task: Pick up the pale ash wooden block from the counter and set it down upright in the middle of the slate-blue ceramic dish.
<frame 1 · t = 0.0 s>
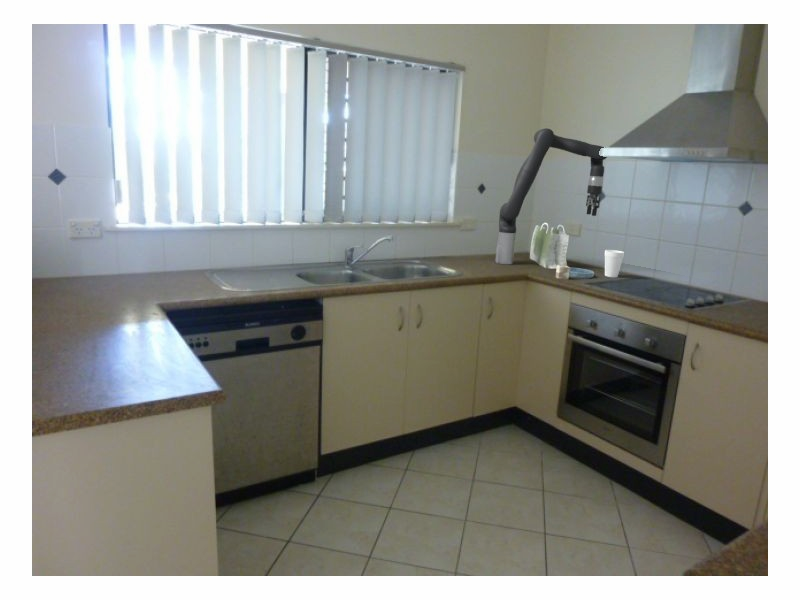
hand: (591, 215, 310), 29 cm above the worktop, fingers open, 8 cm apart
dish: (576, 275, 293), on the worktop
grocery bag: (548, 264, 324), on the worktop
ash block: (561, 278, 282), on the worktop
foam cup: (611, 276, 296), on the worktop
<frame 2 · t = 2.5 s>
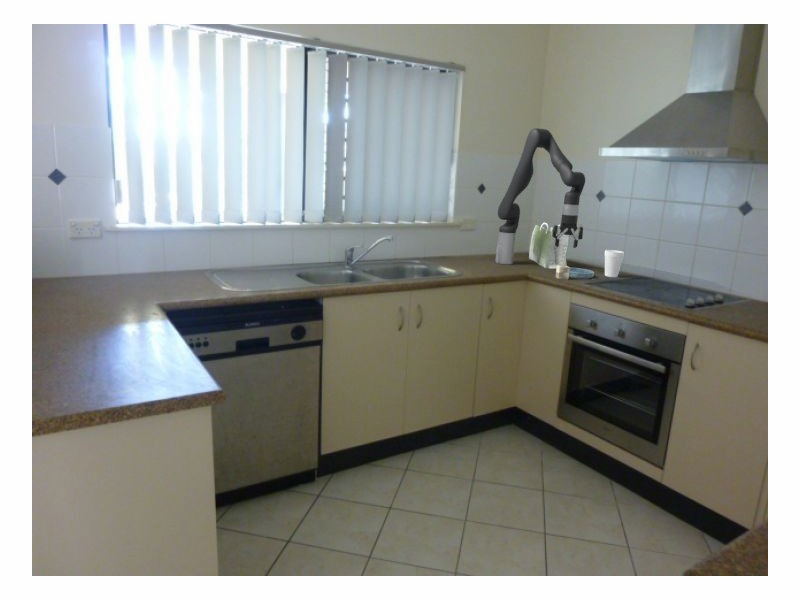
hand: (565, 247, 278), 15 cm above the worktop, fingers open, 8 cm apart
nothing on the worktop moved.
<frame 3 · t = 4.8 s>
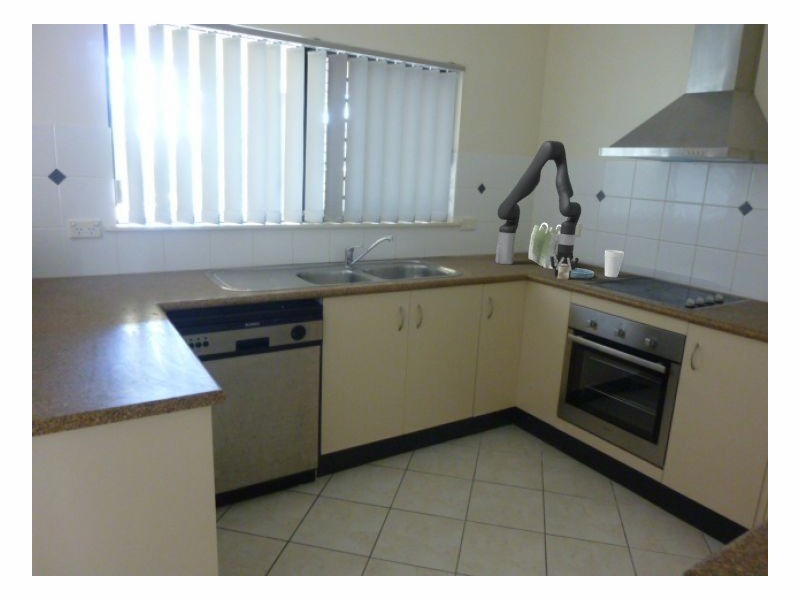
hand: (561, 277, 281), 0 cm above the worktop, fingers closed on ash block, 5 cm apart
ash block: (561, 278, 282), on the worktop, touching gripper
everything else where it was.
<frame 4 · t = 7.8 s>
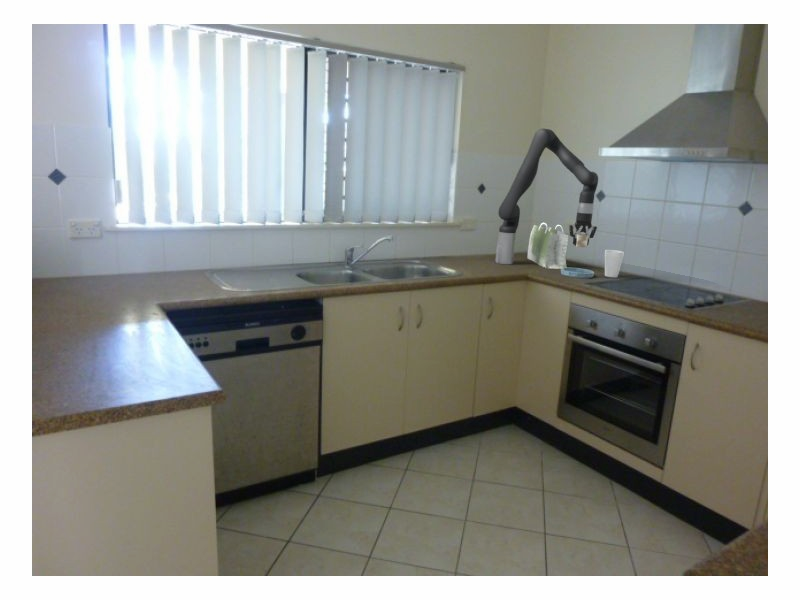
hand: (580, 245, 289), 15 cm above the worktop, fingers closed on ash block, 5 cm apart
ash block: (580, 246, 289), point 15 cm above the worktop, touching gripper
everything else where it was.
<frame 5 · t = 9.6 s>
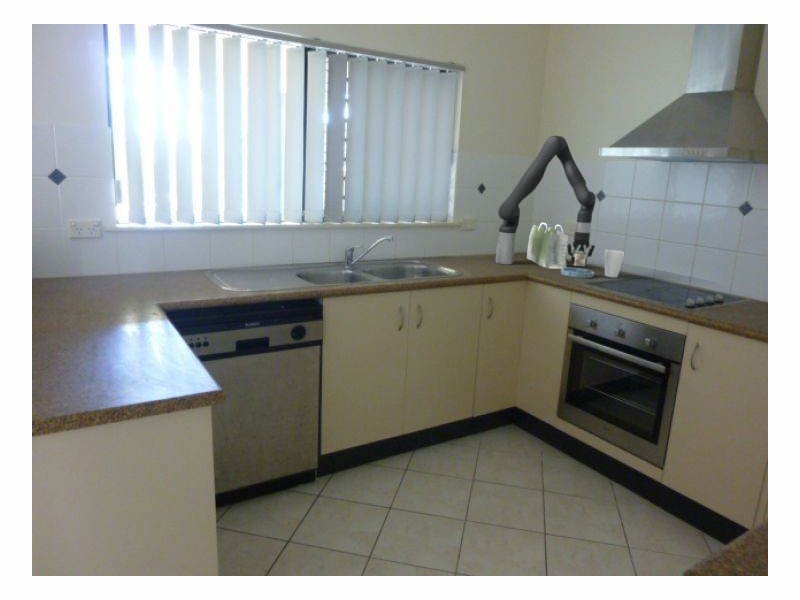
hand: (578, 264, 291), 6 cm above the worktop, fingers closed on ash block, 5 cm apart
ash block: (578, 265, 291), point 5 cm above the worktop, touching gripper
when the fingers open (3 cm above the worktop, at t = 11.1 s): ash block drops 1 cm, resting on dish.
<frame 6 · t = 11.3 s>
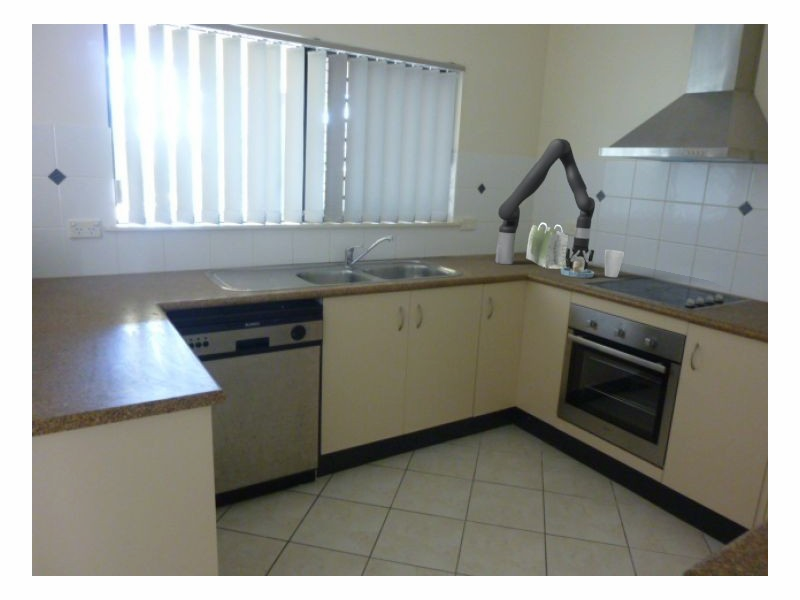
hand: (577, 268, 292), 3 cm above the worktop, fingers open, 6 cm apart
ash block: (576, 272, 292), point 1 cm above the worktop, touching dish
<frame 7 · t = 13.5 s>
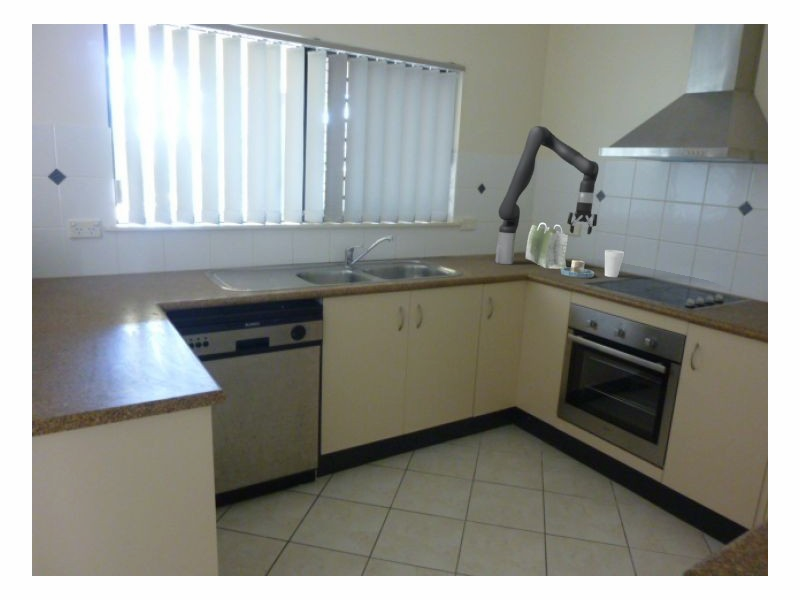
hand: (580, 233, 289), 21 cm above the worktop, fingers open, 8 cm apart
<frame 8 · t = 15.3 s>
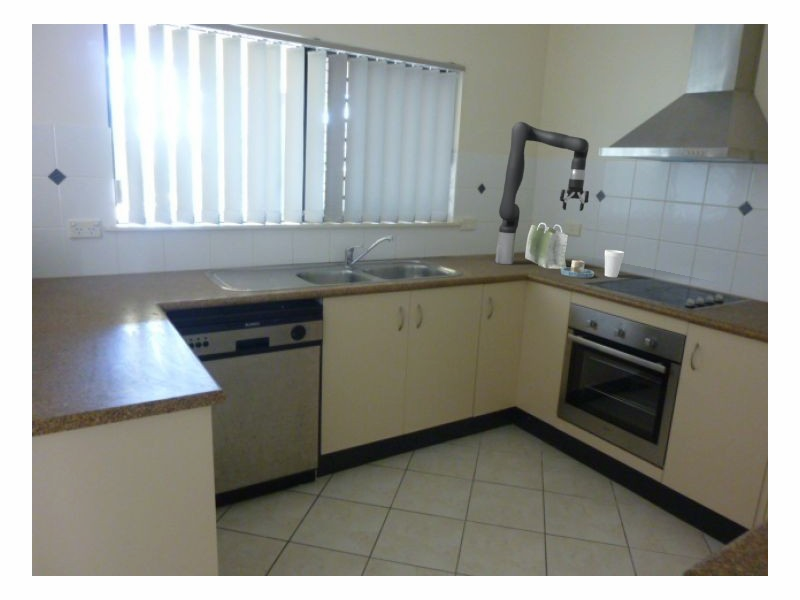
hand: (572, 210, 296), 32 cm above the worktop, fingers open, 8 cm apart
at the end: ash block inside the target area on the dish (0.2 cm from its centre), point 1.2 cm above the dish's base; ash block tilted 0°; the gripper is holding nothing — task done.
